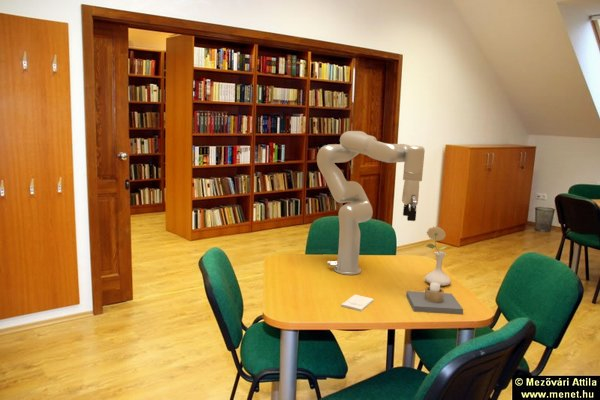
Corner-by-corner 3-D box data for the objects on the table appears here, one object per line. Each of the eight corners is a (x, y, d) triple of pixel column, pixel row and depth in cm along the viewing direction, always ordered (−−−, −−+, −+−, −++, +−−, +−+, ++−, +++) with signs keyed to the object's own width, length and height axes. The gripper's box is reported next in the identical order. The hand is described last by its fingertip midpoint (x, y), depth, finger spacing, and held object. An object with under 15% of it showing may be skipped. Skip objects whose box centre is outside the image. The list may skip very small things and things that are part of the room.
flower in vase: (455, 284, 214) (461, 228, 210) (443, 290, 206) (449, 232, 202) (428, 276, 223) (433, 223, 219) (415, 281, 215) (420, 226, 210)
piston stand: (413, 311, 182) (415, 289, 180) (406, 295, 197) (408, 275, 196) (462, 314, 181) (465, 292, 180) (451, 298, 197) (453, 278, 195)
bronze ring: (426, 302, 186) (427, 292, 185) (422, 295, 192) (423, 286, 192) (444, 303, 185) (445, 293, 185) (440, 296, 192) (441, 287, 191)
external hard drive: (373, 302, 190) (360, 313, 179) (354, 298, 194) (340, 307, 183) (373, 298, 189) (361, 308, 179) (354, 294, 193) (341, 303, 183)
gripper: (399, 173, 206) (396, 213, 209) (407, 178, 189) (403, 222, 192) (417, 174, 205) (414, 214, 208) (426, 179, 188) (422, 223, 191)
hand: (409, 218), depth 200 cm, fingers open, 9 cm apart
